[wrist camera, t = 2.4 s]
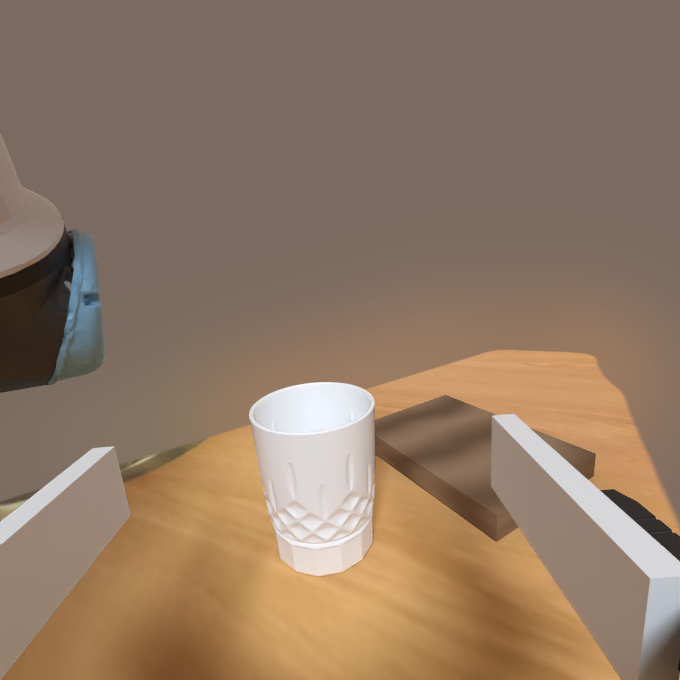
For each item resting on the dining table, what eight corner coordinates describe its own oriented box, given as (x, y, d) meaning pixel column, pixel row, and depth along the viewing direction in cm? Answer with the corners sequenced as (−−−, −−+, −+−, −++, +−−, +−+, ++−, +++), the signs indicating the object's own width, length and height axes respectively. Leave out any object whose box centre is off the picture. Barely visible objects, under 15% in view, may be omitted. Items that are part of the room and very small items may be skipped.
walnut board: (360, 443, 38) (359, 425, 37) (445, 410, 44) (445, 395, 43) (496, 541, 24) (497, 515, 24) (593, 475, 30) (595, 453, 30)
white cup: (259, 518, 28) (241, 395, 26) (354, 488, 31) (346, 374, 28) (282, 606, 21) (259, 447, 19) (403, 558, 24) (397, 413, 21)
